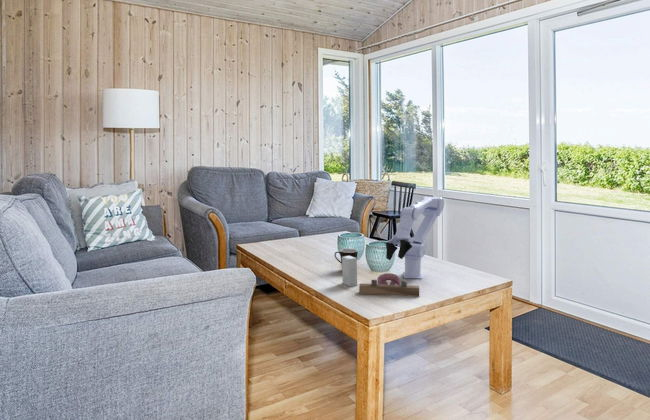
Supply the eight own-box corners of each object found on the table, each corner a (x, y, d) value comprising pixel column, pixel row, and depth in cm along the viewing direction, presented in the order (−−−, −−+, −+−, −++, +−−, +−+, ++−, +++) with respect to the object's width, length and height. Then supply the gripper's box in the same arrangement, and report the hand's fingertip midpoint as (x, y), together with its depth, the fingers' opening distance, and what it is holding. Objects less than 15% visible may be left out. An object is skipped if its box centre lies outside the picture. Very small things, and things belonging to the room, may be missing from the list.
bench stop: (359, 291, 188) (359, 278, 187) (418, 294, 185) (418, 280, 184) (359, 293, 185) (359, 280, 184) (419, 296, 182) (419, 283, 181)
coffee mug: (361, 271, 219) (361, 251, 217) (346, 274, 214) (346, 253, 213) (347, 266, 228) (347, 246, 227) (333, 268, 224) (333, 248, 223)
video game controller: (399, 290, 195) (398, 274, 197) (402, 288, 191) (400, 271, 193) (377, 290, 195) (376, 274, 197) (378, 288, 190) (377, 272, 193)
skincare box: (357, 285, 197) (357, 258, 195) (348, 286, 195) (349, 259, 193) (350, 281, 202) (350, 255, 200) (341, 283, 200) (341, 256, 198)
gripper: (386, 228, 204) (376, 255, 198) (408, 224, 192) (399, 252, 186) (397, 236, 206) (387, 262, 201) (420, 232, 194) (410, 260, 189)
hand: (393, 258), depth 194 cm, fingers open, 7 cm apart
